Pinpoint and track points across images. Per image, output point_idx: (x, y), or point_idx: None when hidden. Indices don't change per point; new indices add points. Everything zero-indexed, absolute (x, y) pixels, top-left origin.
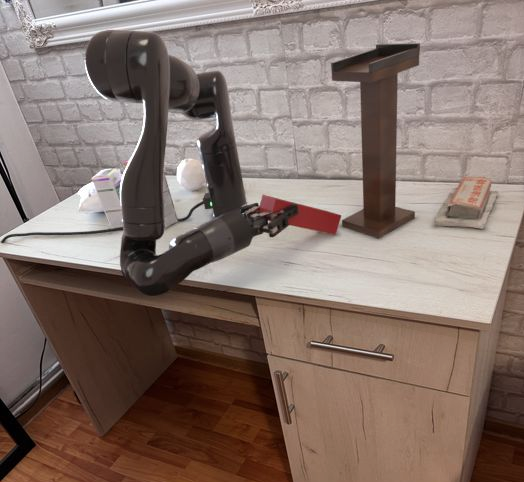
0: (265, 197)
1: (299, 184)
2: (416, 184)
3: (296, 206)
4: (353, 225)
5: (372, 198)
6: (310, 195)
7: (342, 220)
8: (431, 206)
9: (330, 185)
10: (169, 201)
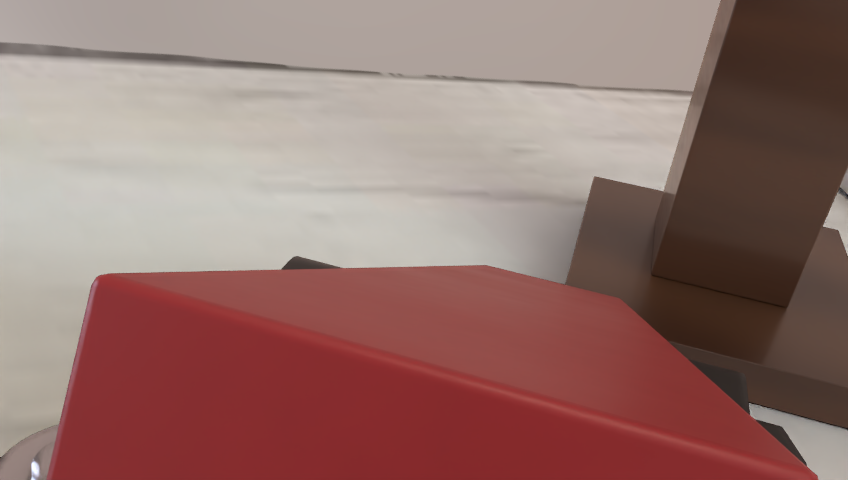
0: (244, 376)
1: (76, 80)
2: (595, 97)
3: None
4: None
5: (769, 176)
6: (175, 137)
7: None
8: None
9: (244, 90)
10: None
